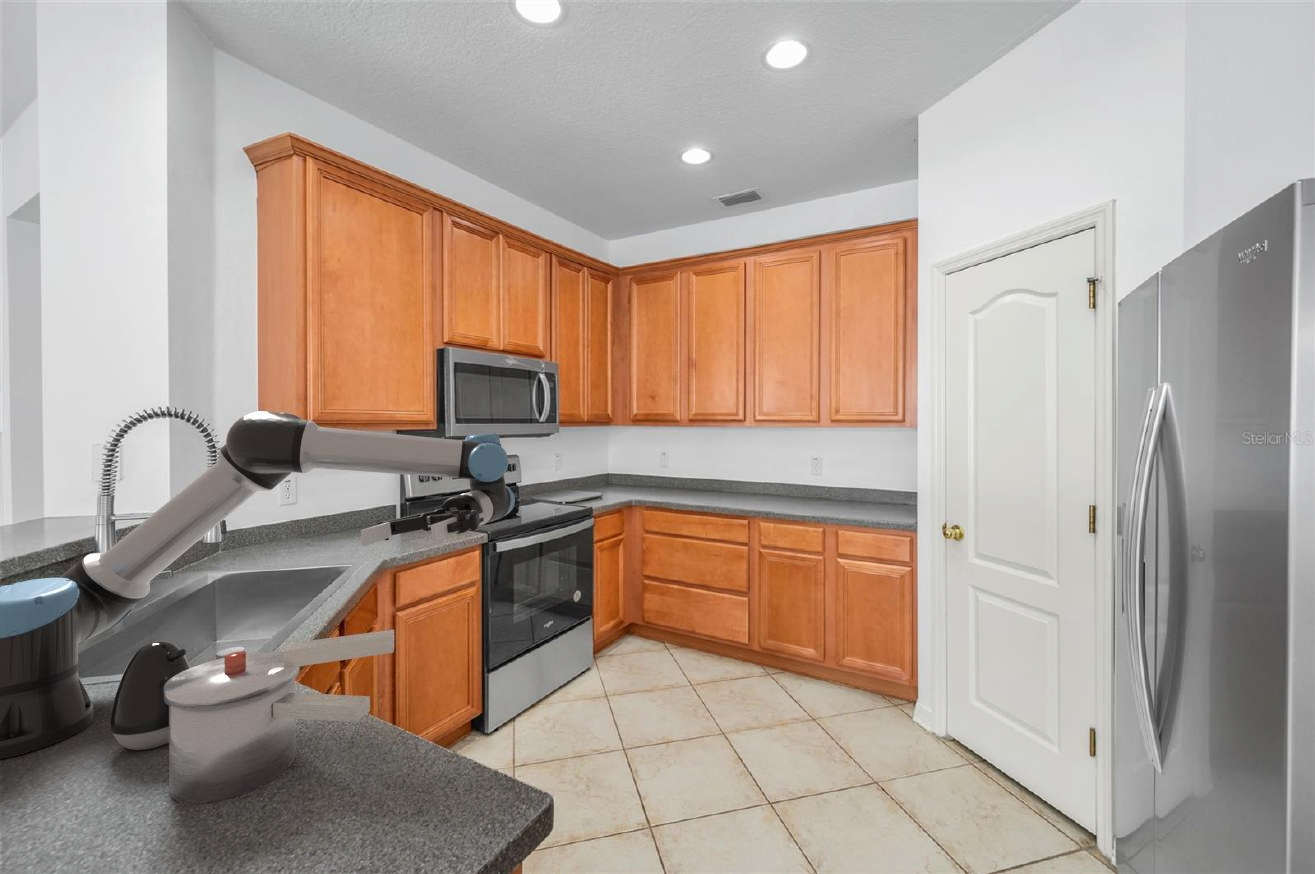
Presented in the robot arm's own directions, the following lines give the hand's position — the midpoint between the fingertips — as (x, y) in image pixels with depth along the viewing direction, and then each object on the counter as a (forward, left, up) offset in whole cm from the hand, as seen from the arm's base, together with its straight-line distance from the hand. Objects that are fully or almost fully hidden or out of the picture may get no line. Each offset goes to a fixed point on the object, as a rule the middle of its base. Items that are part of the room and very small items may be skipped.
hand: (397, 535), depth 94 cm
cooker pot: (-7, -18, -30) cm, 36 cm away
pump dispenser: (-32, -12, -30) cm, 46 cm away
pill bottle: (-30, -1, -30) cm, 43 cm away
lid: (-8, -15, -18) cm, 24 cm away
